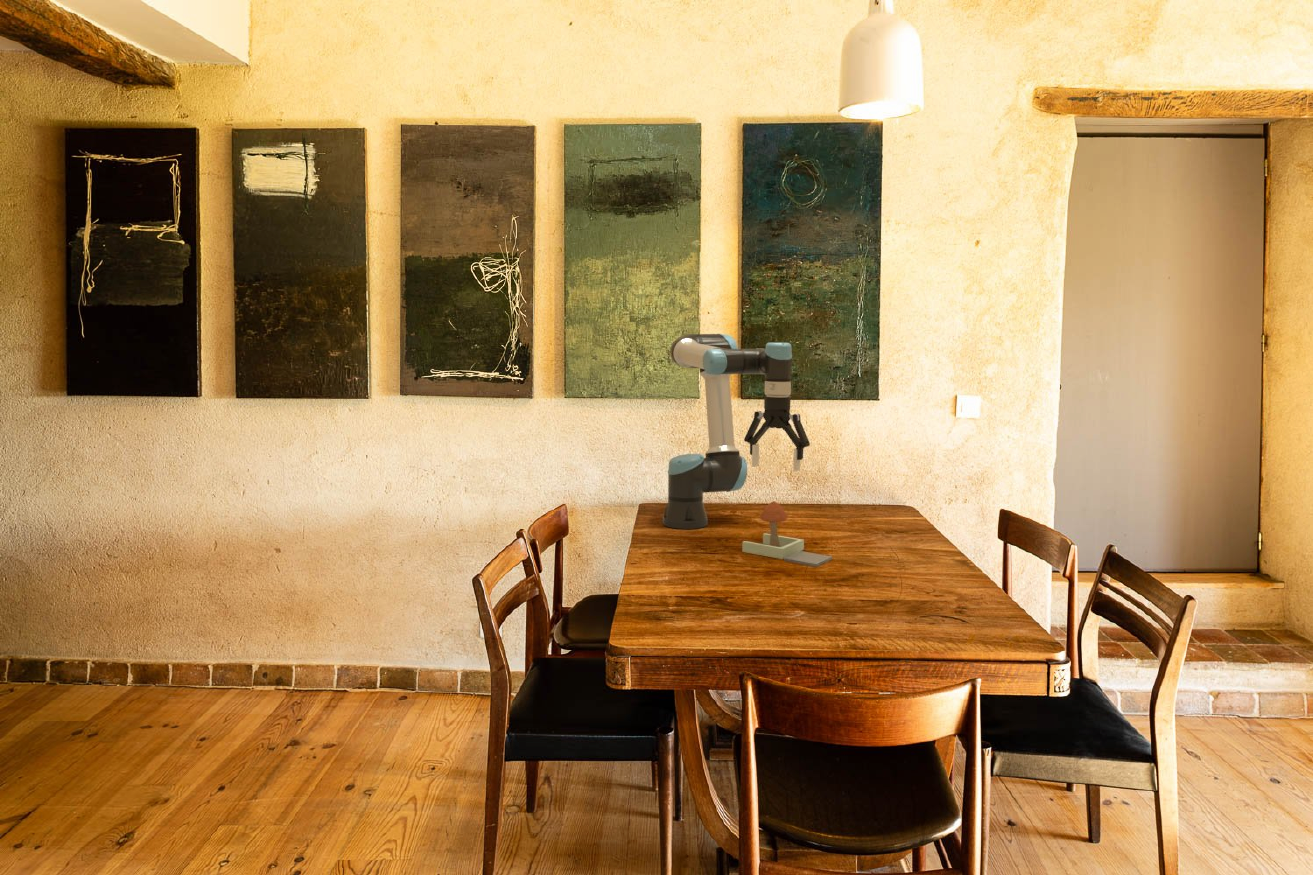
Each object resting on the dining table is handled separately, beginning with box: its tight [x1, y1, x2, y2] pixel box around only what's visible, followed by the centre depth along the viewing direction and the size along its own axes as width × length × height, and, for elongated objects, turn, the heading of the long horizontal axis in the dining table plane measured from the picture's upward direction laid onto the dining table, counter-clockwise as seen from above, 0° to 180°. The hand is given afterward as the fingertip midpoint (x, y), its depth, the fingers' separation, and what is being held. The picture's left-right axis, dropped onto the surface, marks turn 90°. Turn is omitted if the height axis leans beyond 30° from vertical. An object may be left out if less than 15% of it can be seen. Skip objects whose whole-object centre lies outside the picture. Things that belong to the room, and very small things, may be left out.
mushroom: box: [759, 501, 788, 547], centre depth 243 cm, size 8×8×15 cm
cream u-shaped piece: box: [741, 533, 805, 560], centre depth 244 cm, size 13×13×3 cm
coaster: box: [783, 550, 833, 568], centre depth 234 cm, size 10×10×1 cm
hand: (775, 468), depth 241 cm, fingers open, 13 cm apart
